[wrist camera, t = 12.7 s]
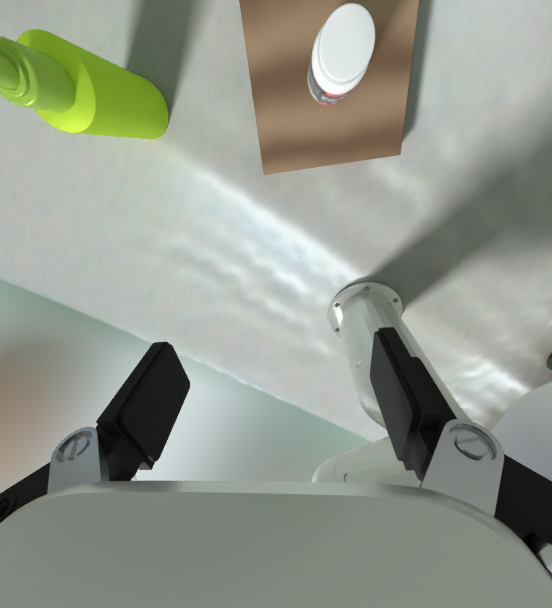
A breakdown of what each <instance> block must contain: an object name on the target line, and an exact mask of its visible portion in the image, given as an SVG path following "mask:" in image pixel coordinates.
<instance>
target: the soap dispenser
mask: <svg viewBox="0 0 552 608" xmlns="http://www.w3.org/2000/svg"><path fill="white" fill-rule="evenodd" d="M0 94H1V95H2V96H3V97H4V98H6V99H7V100H8V101H10V102H12V103H13V104H16V105H18V106H22V107H27V108H33V109H34V110H35V111H36V113H37V114H38V115H39V116H40V117H41V118H43V119H44V120H45V121H46V122H47V123H49V124H50V125H52V126H53V127H55V128H57V129H59V130H61V131H64V132H69V133H79V134H91V135H104V136H116V137H128V138H141V139H156V138H159V137H160V136H162V135H163V134H164V132H165V131H166V129H167V126H168V121H169V113H168V108H167V104H166V101H165V99H164V97H163V95H162V94H161V92H160V91H159V89H158V88H157V87H156V86H155V85H154V84H152V83H151V82H150V81H148V80H146V79H144V78H142V77H140V76H138V75H136V74H134V73H132V72H130V71H128V70H126V69H124V68H122V67H119V66H117V65H115V64H113V63H111V62H109V61H107V60H105V59H103V58H101V57H99V56H97V55H95V54H93V53H91V52H89V51H87V50H85V49H83V48H81V47H78V46H76V45H74V44H72V43H70V42H68V41H66V40H64V39H62V38H60V37H58V36H56V35H54V34H52V33H50V32H47V31H44V30H38V29H34V30H29V31H26V32H24V33H23V34H22V35H20V37H19V38H18V39H17V41H16V42H15V41H12V40H10V39H7V38H5V37H2V36H0Z"/></svg>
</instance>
